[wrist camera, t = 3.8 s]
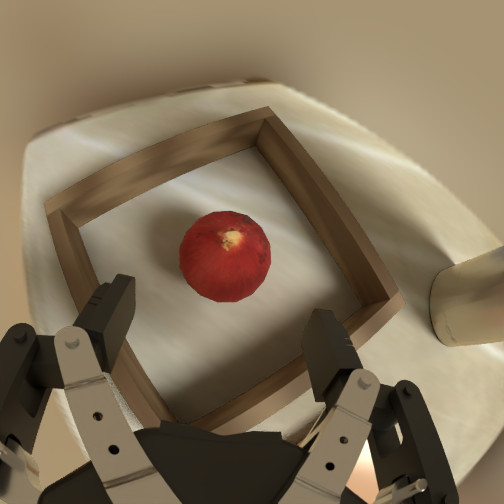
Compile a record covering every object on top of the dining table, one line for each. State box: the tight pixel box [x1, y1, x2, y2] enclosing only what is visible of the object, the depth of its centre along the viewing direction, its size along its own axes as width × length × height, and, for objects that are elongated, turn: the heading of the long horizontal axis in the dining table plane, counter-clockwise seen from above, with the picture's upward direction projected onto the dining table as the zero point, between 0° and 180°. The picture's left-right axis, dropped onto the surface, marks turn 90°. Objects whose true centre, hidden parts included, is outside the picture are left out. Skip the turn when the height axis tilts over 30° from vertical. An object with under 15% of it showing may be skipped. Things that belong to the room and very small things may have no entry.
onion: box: [179, 211, 271, 302], centre depth 17 cm, size 6×6×8 cm
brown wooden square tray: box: [44, 106, 406, 435], centre depth 19 cm, size 20×20×4 cm
